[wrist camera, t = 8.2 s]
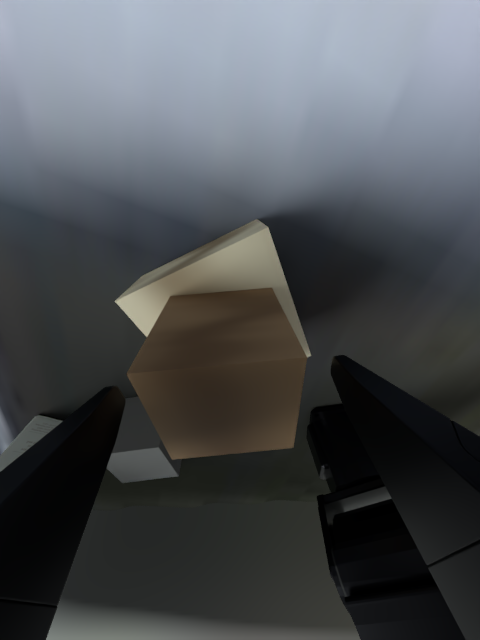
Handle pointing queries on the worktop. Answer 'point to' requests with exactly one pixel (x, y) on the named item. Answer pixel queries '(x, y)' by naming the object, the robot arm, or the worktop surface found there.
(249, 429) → the walnut cube
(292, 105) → the worktop surface
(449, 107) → the worktop surface
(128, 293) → the birch block
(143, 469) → the gray cube
